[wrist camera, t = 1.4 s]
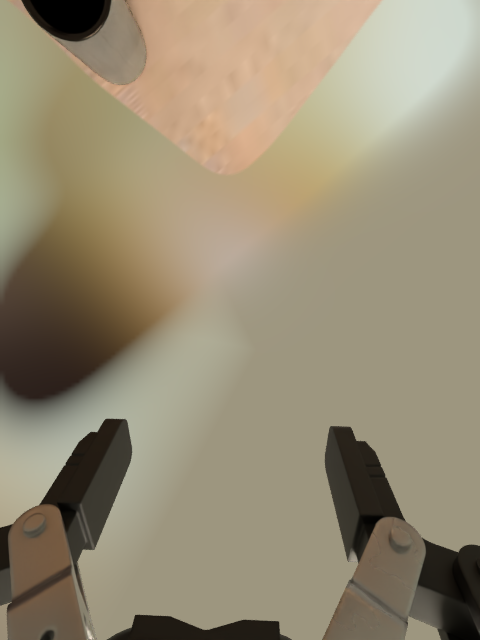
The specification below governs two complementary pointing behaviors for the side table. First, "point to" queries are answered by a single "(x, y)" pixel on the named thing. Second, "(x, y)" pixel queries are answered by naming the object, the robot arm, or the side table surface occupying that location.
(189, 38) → the side table surface
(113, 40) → the planter
